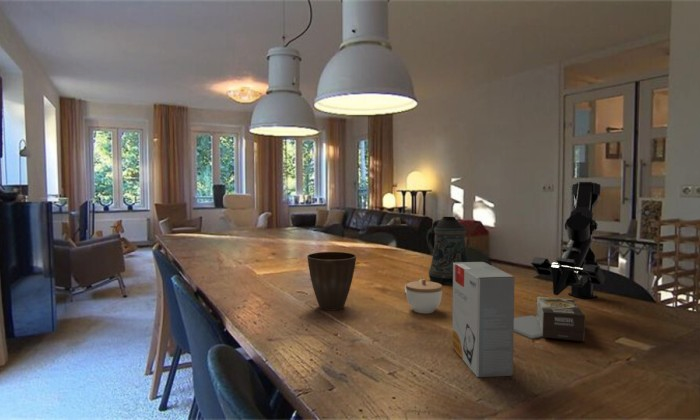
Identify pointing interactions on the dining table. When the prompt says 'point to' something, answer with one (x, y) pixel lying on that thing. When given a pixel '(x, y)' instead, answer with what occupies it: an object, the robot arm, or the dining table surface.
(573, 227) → the robot arm
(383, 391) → the dining table surface
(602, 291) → the dining table surface
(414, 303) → the lidded jar
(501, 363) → the hard drive box
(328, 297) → the plant pot
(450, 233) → the beer stein
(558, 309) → the coffee box
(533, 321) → the tile
